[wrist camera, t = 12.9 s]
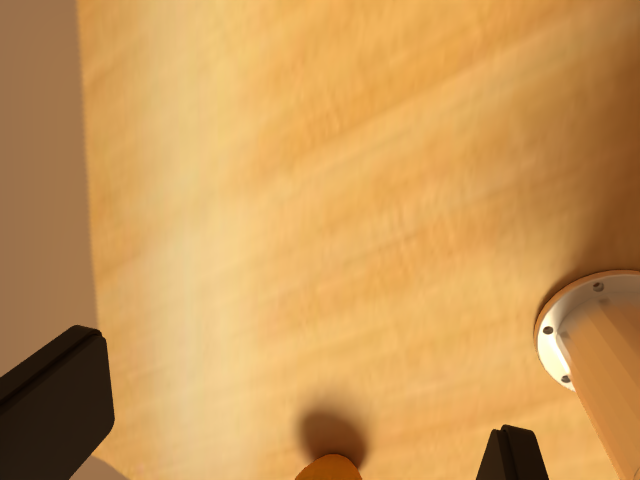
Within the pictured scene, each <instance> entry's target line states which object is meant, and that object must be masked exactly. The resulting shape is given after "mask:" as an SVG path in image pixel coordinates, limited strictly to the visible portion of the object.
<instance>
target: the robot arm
mask: <svg viewBox="0 0 640 480" xmlns="http://www.w3.org/2000/svg"><path fill="white" fill-rule="evenodd" d="M596 283H597V284H596ZM594 284H595V285H594ZM534 343H535V349H536V352H537V354H538V357H539V360H540V361H541V363H542V365H543V367H544V369H545V370H546V371H547V372H548V374H549V375H550V376H551V377H552V378H553V379H554V380H555V381H557V382H558V383H559V384H561V385H562V386H564V387H566V388H568V389H570V390H572V391H574V392H576V393H577V395H578V397H579V399H580V401H581V403H582V405H583V407H584V409H585V411H586V413H587V415H588V417H589V419H590V421H591V423H592V425H593V427H594V429H595V431H596V433H597V435H598V437H599V439H600V441H601V443H602V445H603V447H604V449H605V451H606V453H607V455H608V457H609V459H610V461H611V463H612V465H613V467H614V469H615V471H616V473H617V475H618V477H619V479H620V480H640V271H633V270H611V271H605V272H600V273H595V274H592V275H589V276H586V277H583V278H580V279H578V280H576V281H575V282H573V283H571V284H569V285H567V286H565V287H564V288H563V289H561V290H560V291H559V292H557V293H556V294H555V295H554V296H553V297H552V298H551V299H550V300H549V301H548V302H547V303H546V305H545V306H544V308H543V309H542V311H541V313H540V314H539V317H538V319H537V322H536V325H535V331H534ZM114 421H115V416H114V407H113V398H112V389H111V380H110V370H109V361H108V352H107V343H106V339H105V338H104V337H102V333H101V332H100V331H99V330H97V329H93V328H88V327H84V326H80V325H74V326H72V327H70V328H69V329H68V330H66V331H65V332H63V333H62V334H61V335H60V336H58V337H56V338H55V339H54V340H52V341H51V342H49V343H48V344H47V345H45V346H44V347H42V348H41V349H40V350H38V351H37V352H35V353H34V354H33V355H31V356H30V357H28V358H27V359H26V360H24V361H23V362H21V363H20V364H19V365H17V366H16V367H15V368H13V369H12V370H10V371H9V372H7V373H6V374H5V375H3V376H2V377H0V480H69V479H70V477H71V476H72V475H73V474H74V473H75V472H76V471H77V469H78V468H79V467H80V466H81V465H82V464H83V463H84V461H85V460H86V459H87V458H88V457H89V456H90V455H91V453H92V452H93V451H94V450H95V449H96V448H97V447H98V446H99V444H100V443H101V442H102V441H103V440H104V439H105V438H106V436H107V435H108V434H109V433H110V431H111V429H112V427H113V425H114ZM476 480H549V478H548V475H547V471H546V468H545V465H544V462H543V459H542V455H541V452H540V449H539V446H538V442H537V439H536V436H535V434H534V432H533V431H531V430H527V429H523V428H518V427H514V426H510V425H503V426H502V428H501V430H496V429H493V430H492V432H491V434H490V437H489V440H488V444H487V447H486V450H485V453H484V456H483V459H482V462H481V465H480V468H479V471H478V474H477V477H476Z"/></svg>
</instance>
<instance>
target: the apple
mask: <svg viewBox="0 0 640 480" xmlns="http://www.w3.org/2000/svg"><path fill="white" fill-rule="evenodd" d="M295 480H362V478H361V476H360V474H359V472H358V470H357V469H356V467H355V466H354V465H353V463H352V462H351V461H350V460H349V459H348V458H346V457H344V456H341V455H339V454H328V455H325V456H323V457H321V458H318V459H317V460H315V461H314V462H313V463H311V464H310V465H308V466H307V467H305V468H304V469H303V470H302V471H301V472H300V473H299V474H298V476H297V477H296V478H295Z"/></svg>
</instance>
